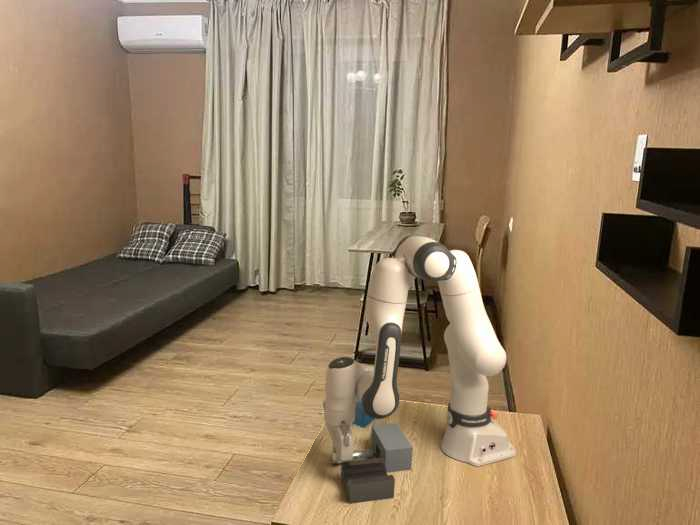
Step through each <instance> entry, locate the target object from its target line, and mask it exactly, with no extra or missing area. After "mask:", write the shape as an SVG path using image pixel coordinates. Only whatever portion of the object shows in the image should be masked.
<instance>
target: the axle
mask: <svg viewBox="0 0 700 525" xmlns="http://www.w3.org/2000/svg"><path fill="white" fill-rule="evenodd" d="M336 458H337V452H336V453H334V452H331V453H330V461H331V464H332V465H335V464H339V463H338V462H337V460H336ZM366 459H374V451H373V449H372V448H367V449H357V450H353V459H352V460H351V461H357V460H366ZM344 462H348V461H344Z"/></svg>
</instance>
